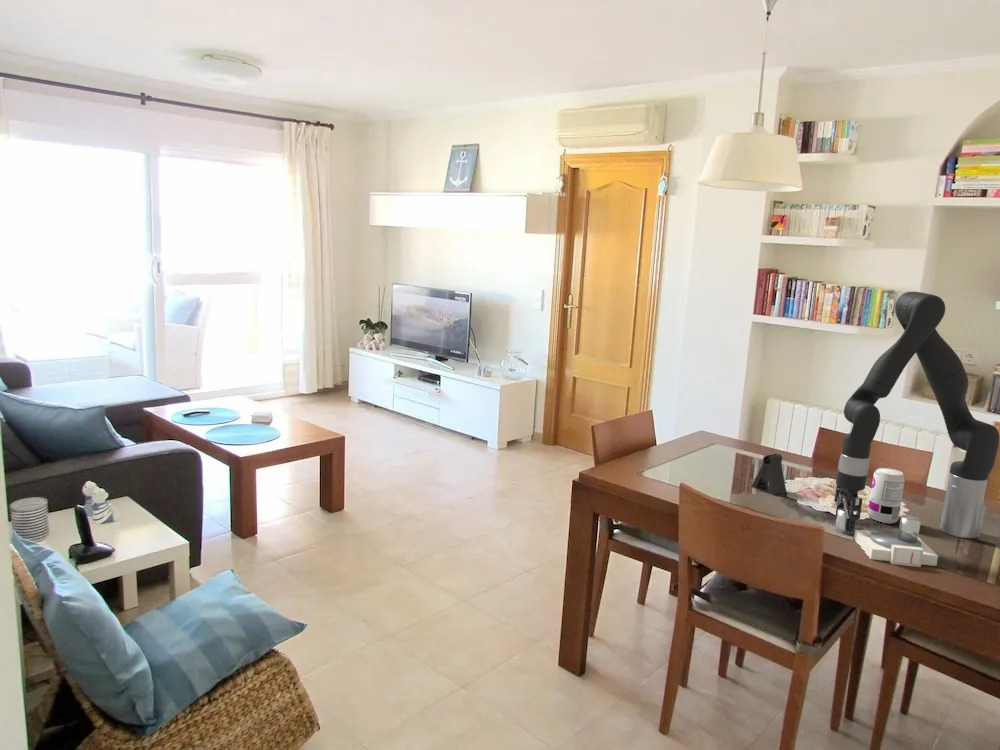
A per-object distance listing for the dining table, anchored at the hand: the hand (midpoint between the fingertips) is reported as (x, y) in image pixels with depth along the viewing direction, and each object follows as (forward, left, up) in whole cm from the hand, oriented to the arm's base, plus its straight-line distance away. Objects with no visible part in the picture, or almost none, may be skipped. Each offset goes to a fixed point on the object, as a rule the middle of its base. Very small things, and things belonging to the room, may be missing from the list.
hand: (844, 525), depth 206 cm
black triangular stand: (+14, -31, -2) cm, 34 cm away
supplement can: (-15, -13, -2) cm, 20 cm away
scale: (-9, +13, -2) cm, 16 cm away
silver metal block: (-12, +12, +2) cm, 17 cm away
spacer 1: (0, 0, -2) cm, 2 cm away
